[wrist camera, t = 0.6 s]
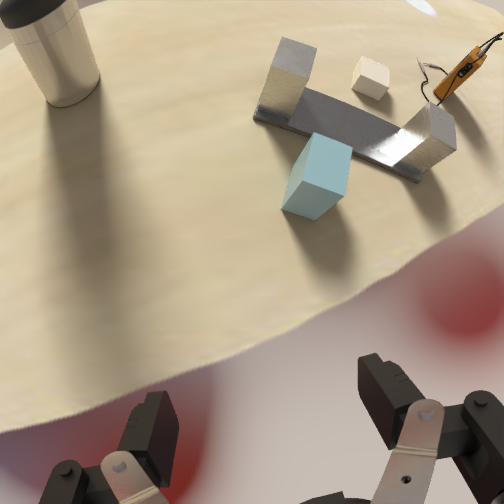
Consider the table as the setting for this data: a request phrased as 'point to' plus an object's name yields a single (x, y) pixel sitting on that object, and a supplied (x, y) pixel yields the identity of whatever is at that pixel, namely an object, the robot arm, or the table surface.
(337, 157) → the block
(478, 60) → the multimeter
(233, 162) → the table surface
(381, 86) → the block
